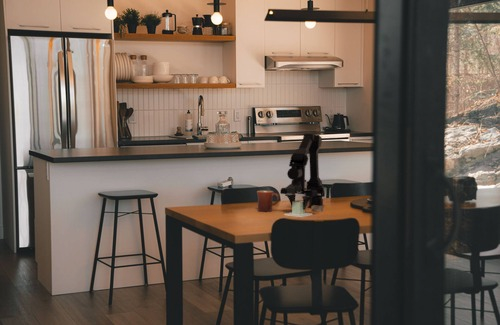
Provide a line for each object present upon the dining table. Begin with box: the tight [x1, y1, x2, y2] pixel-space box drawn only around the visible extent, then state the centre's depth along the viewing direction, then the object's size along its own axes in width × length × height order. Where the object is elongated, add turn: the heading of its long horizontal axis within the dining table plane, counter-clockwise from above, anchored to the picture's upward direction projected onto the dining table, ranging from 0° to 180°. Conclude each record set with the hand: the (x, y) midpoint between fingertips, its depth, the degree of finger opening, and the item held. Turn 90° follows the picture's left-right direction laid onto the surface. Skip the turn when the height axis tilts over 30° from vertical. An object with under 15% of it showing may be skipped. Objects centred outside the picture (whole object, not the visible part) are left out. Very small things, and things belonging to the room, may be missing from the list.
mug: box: [256, 190, 280, 213], centre depth 363 cm, size 12×9×10 cm
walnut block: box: [310, 205, 324, 213], centre depth 366 cm, size 5×5×3 cm
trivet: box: [284, 211, 313, 218], centre depth 351 cm, size 10×10×1 cm
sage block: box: [291, 200, 306, 214], centre depth 351 cm, size 4×4×6 cm
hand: (298, 209), depth 351 cm, fingers open, 6 cm apart
